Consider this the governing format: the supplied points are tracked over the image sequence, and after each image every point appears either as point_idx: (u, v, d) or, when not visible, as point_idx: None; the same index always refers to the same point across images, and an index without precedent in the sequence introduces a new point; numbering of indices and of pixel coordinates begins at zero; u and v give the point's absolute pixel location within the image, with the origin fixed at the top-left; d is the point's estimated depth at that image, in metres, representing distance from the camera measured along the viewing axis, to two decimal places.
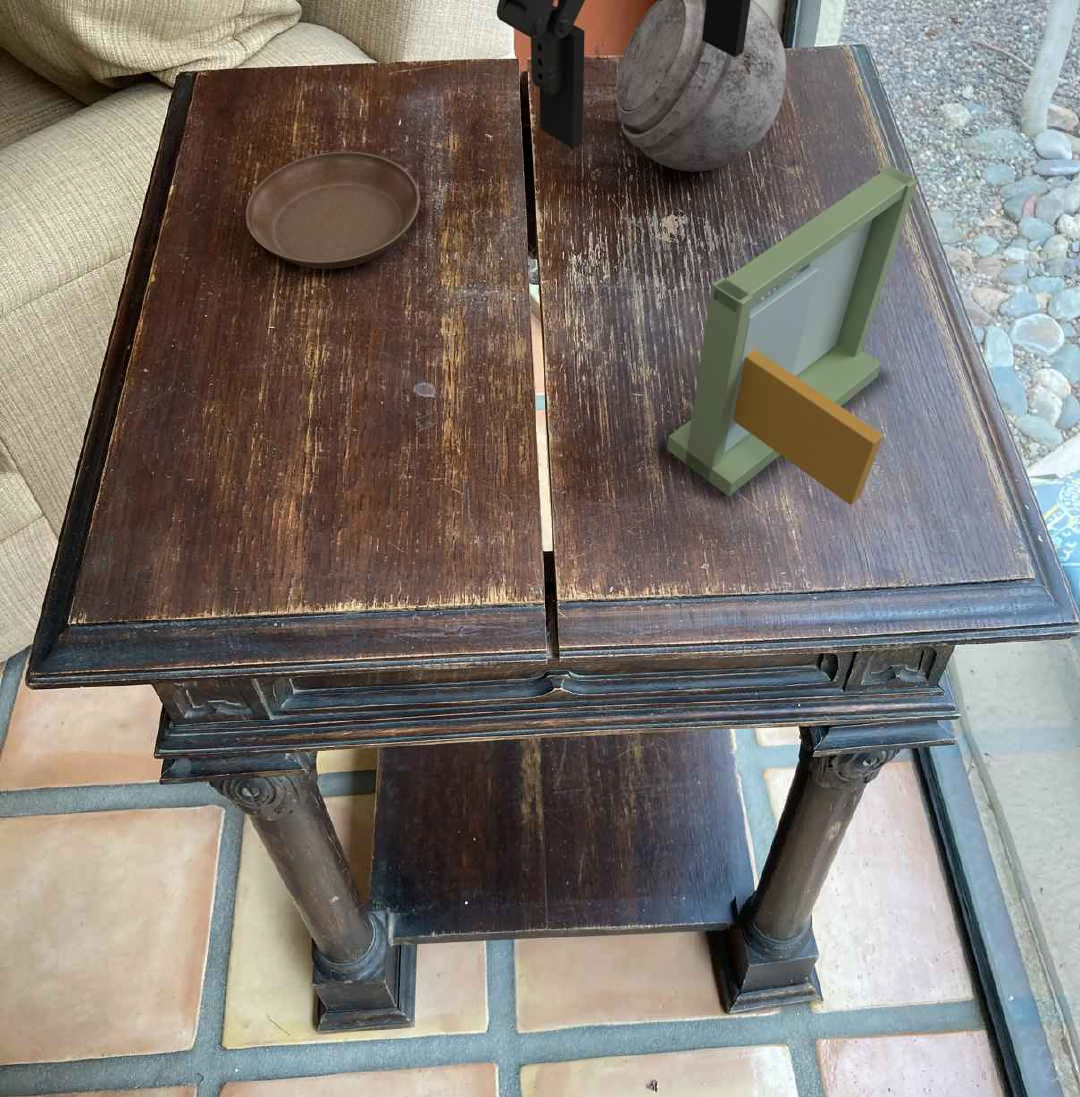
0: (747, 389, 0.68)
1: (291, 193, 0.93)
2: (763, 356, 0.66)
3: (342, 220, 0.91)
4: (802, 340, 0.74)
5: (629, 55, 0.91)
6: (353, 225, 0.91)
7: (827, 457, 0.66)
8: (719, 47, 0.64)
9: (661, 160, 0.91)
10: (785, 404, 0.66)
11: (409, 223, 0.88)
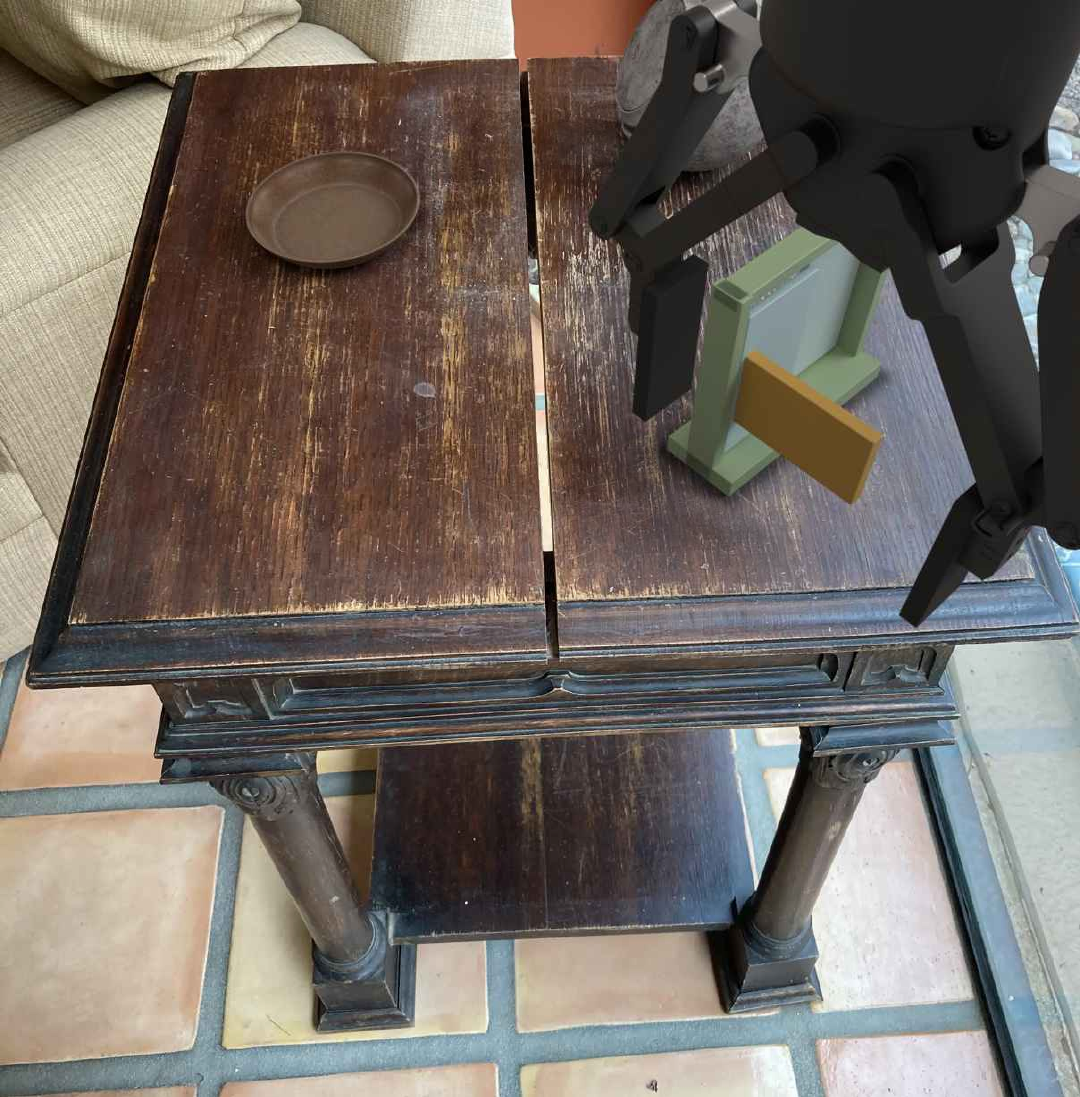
0: (747, 389, 0.68)
1: (291, 193, 0.93)
2: (763, 356, 0.66)
3: (342, 220, 0.91)
4: (802, 340, 0.74)
5: (629, 55, 0.91)
6: (353, 225, 0.91)
7: (827, 457, 0.66)
8: (670, 402, 0.43)
9: None
10: (785, 404, 0.66)
11: (409, 223, 0.88)
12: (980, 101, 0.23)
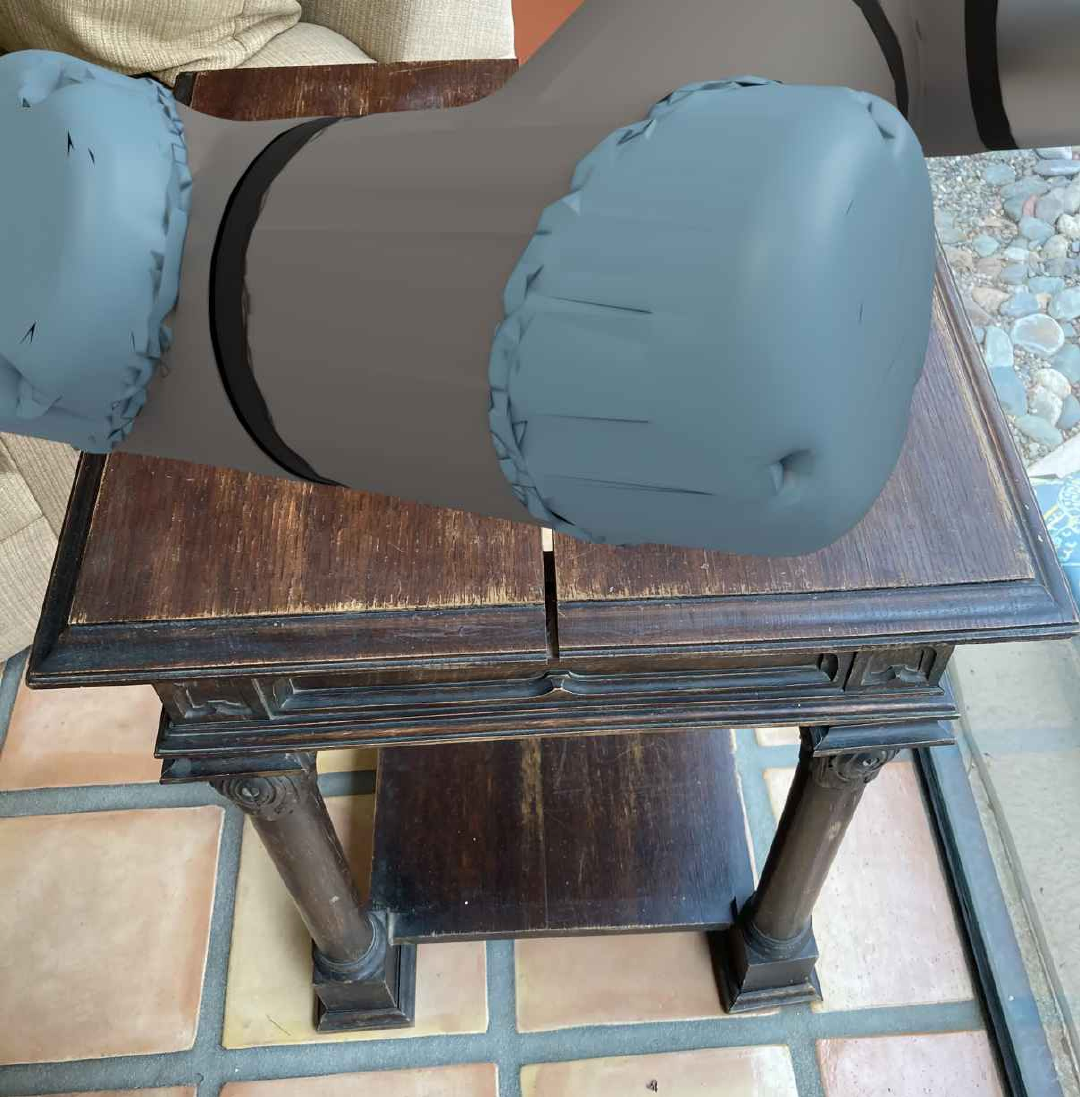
0: None
1: None
2: None
3: None
4: None
5: None
6: None
7: None
8: None
9: None
10: None
11: None
12: None
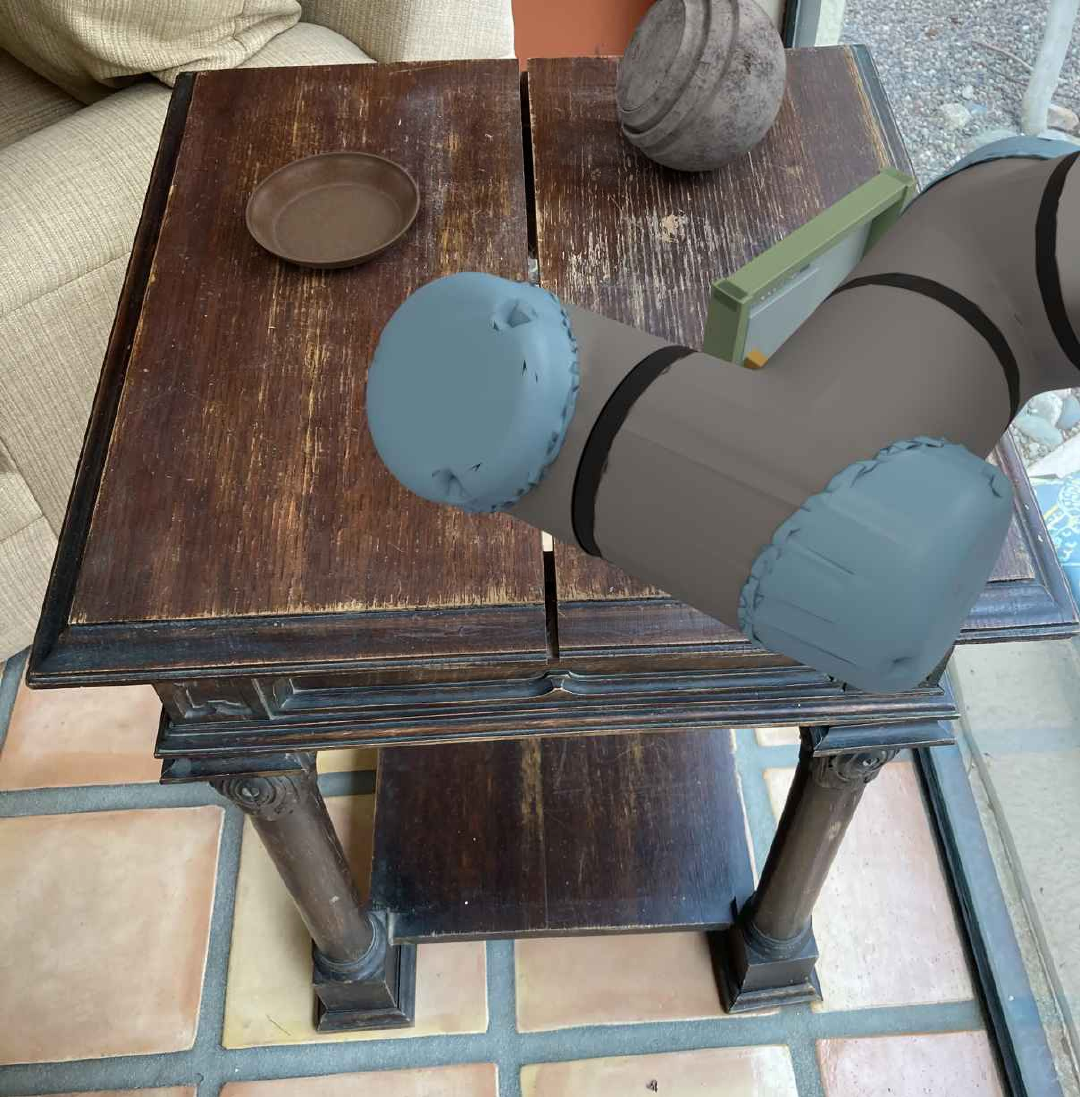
0: None
1: (291, 193, 0.93)
2: (763, 356, 0.66)
3: (342, 220, 0.91)
4: None
5: (629, 55, 0.91)
6: (353, 225, 0.91)
7: None
8: None
9: (661, 160, 0.91)
10: None
11: (409, 223, 0.88)
12: None
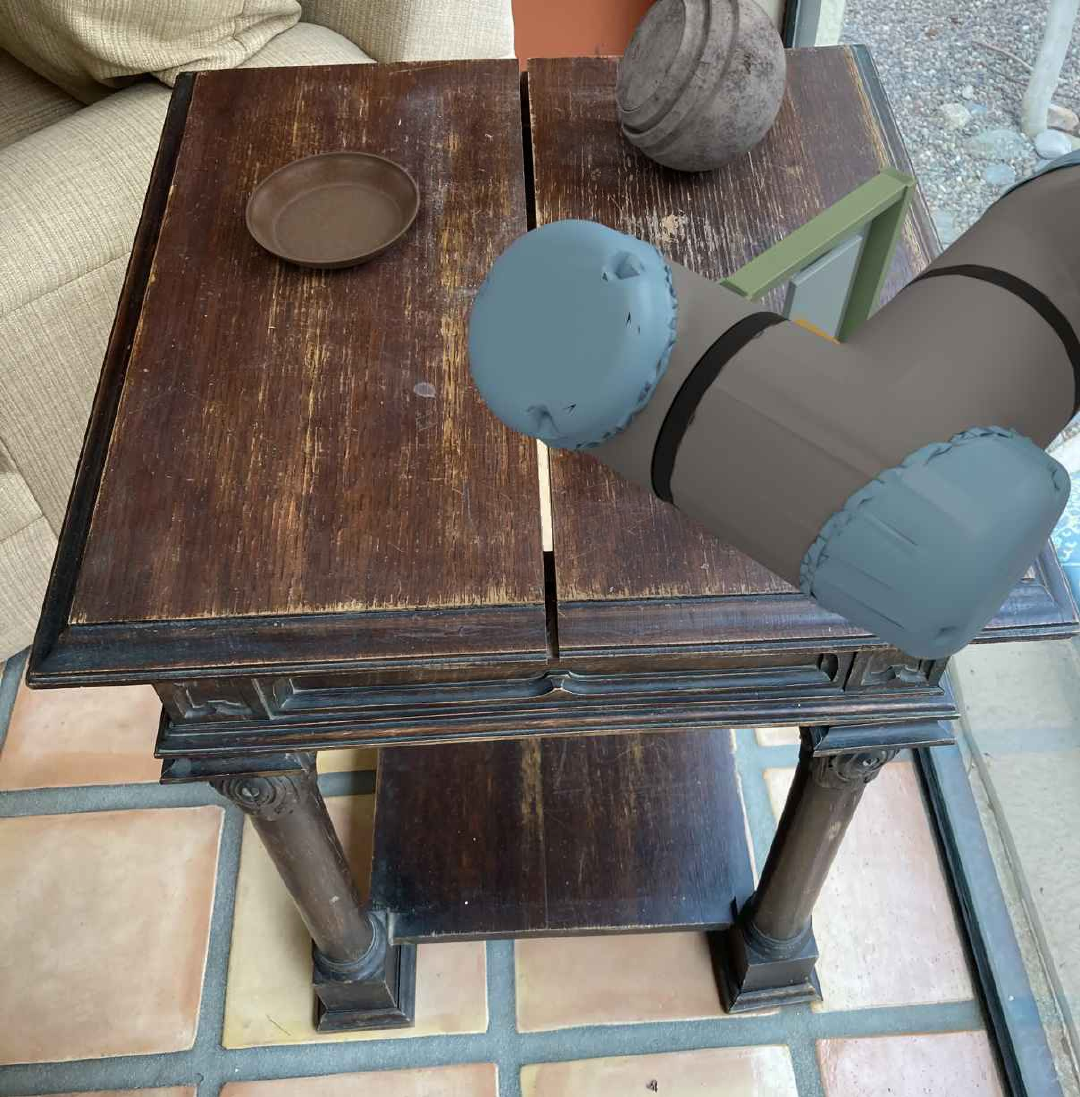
0: None
1: (291, 193, 0.93)
2: (807, 323, 0.68)
3: (342, 220, 0.91)
4: None
5: (629, 55, 0.91)
6: (353, 225, 0.91)
7: None
8: None
9: (661, 160, 0.91)
10: None
11: (409, 223, 0.88)
12: None
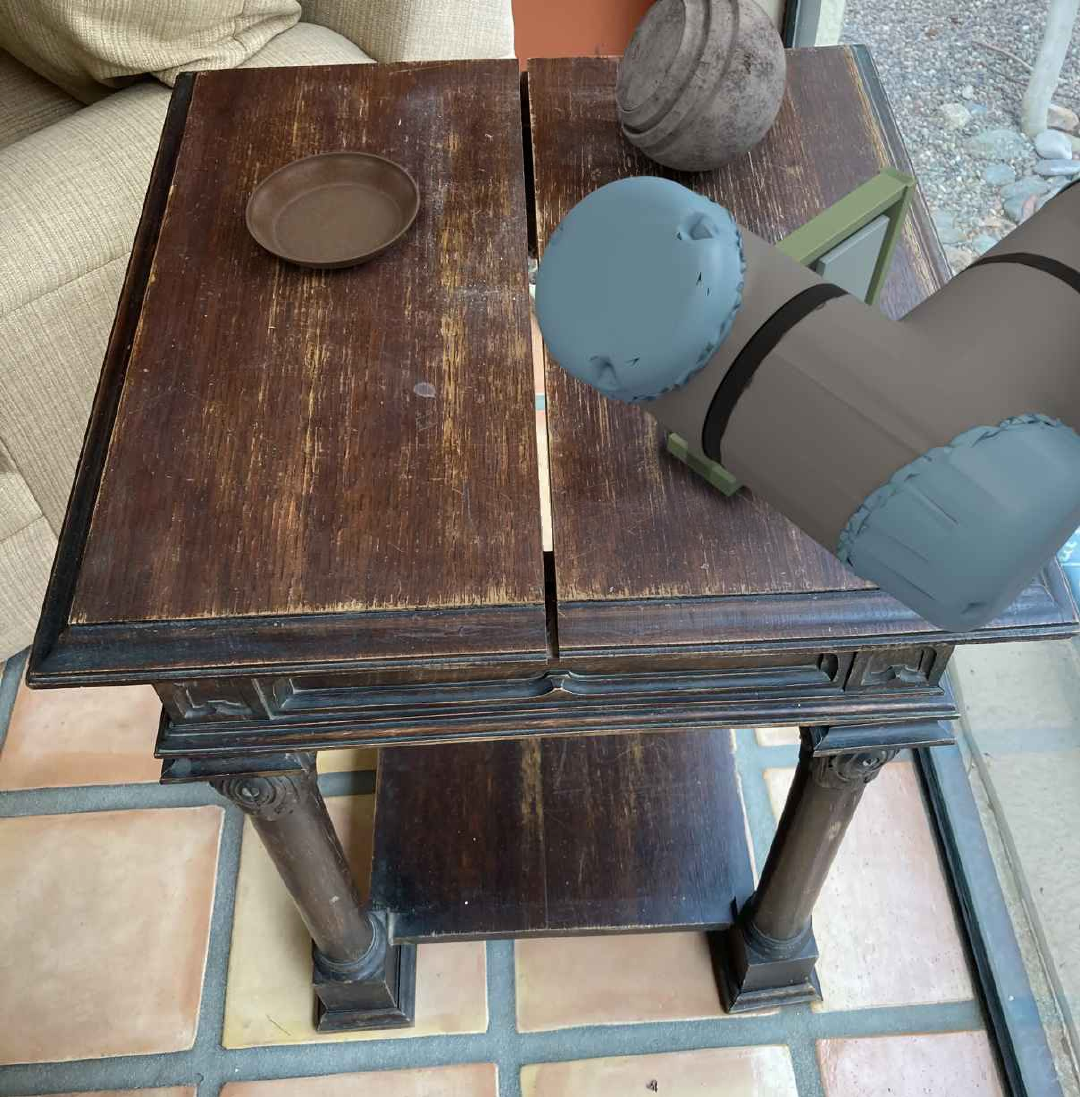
0: None
1: (291, 193, 0.93)
2: None
3: (342, 220, 0.91)
4: None
5: (629, 55, 0.91)
6: (353, 225, 0.91)
7: None
8: None
9: (661, 160, 0.91)
10: None
11: (409, 223, 0.88)
12: None
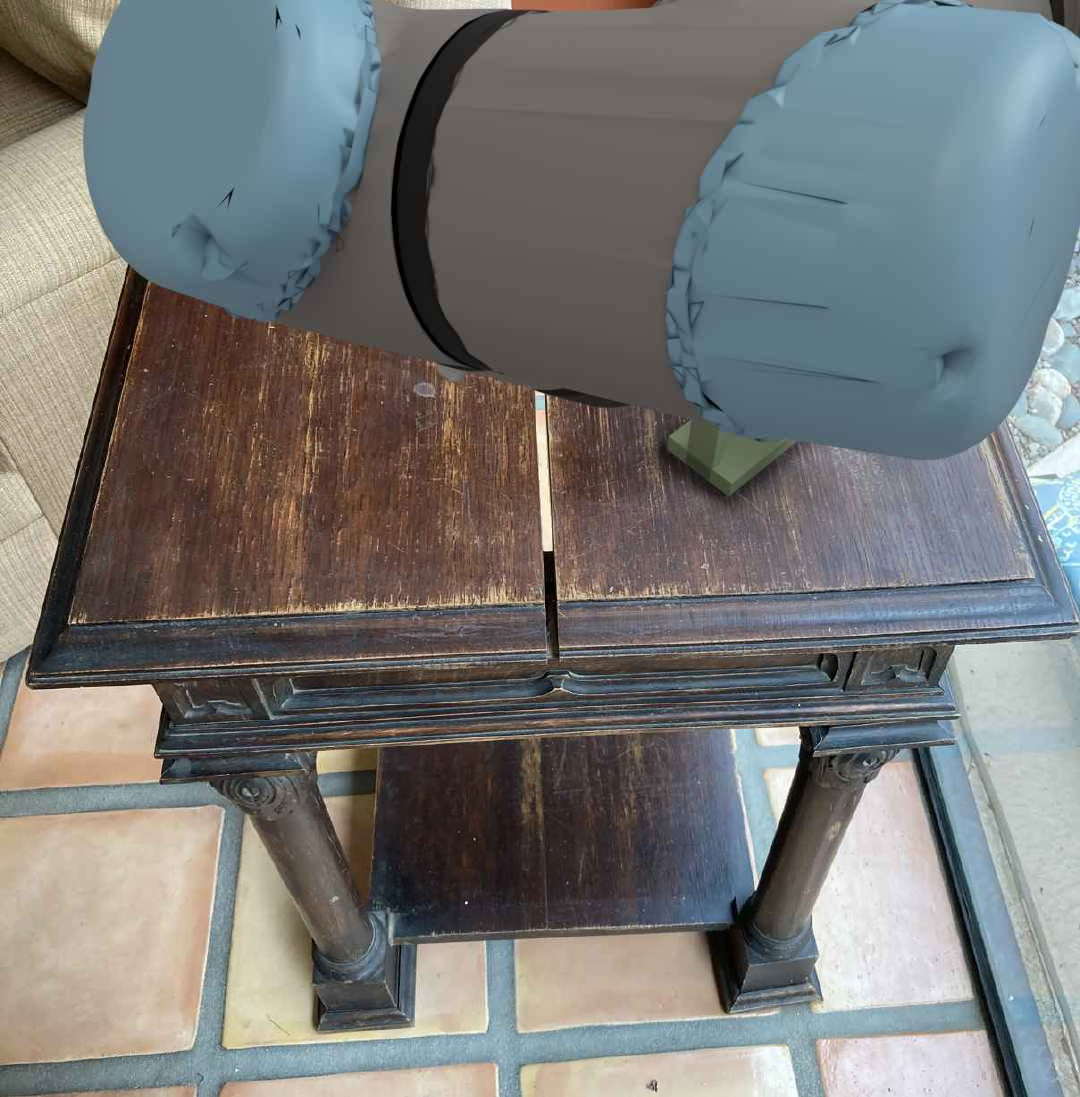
0: None
1: None
2: None
3: None
4: None
5: None
6: None
7: None
8: None
9: None
10: None
11: None
12: None
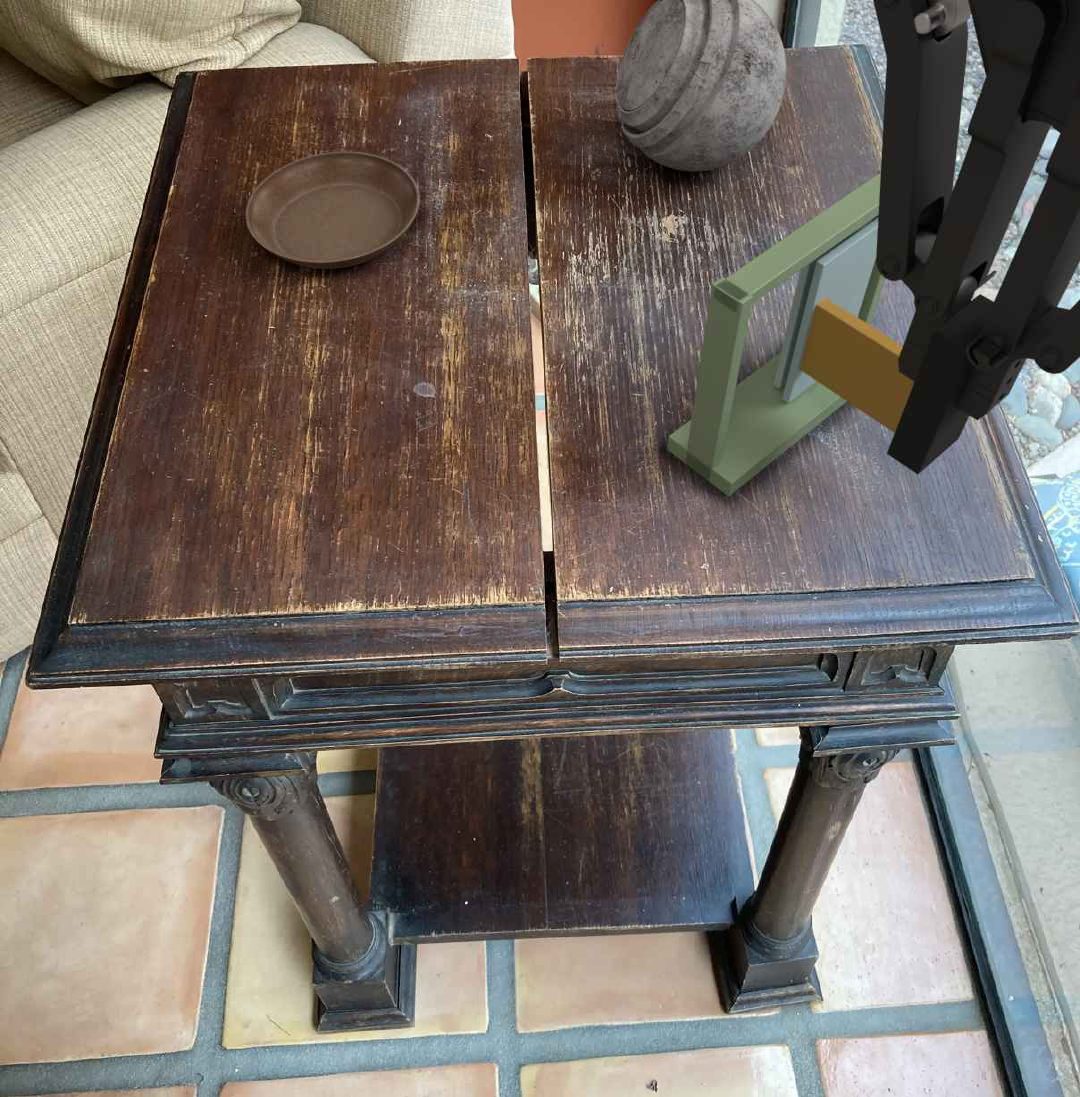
0: (816, 337, 0.70)
1: (291, 193, 0.93)
2: (833, 304, 0.69)
3: (342, 220, 0.91)
4: None
5: (629, 55, 0.91)
6: (353, 225, 0.91)
7: (896, 401, 0.68)
8: None
9: (661, 160, 0.91)
10: (855, 349, 0.68)
11: (409, 223, 0.88)
12: None
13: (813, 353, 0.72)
